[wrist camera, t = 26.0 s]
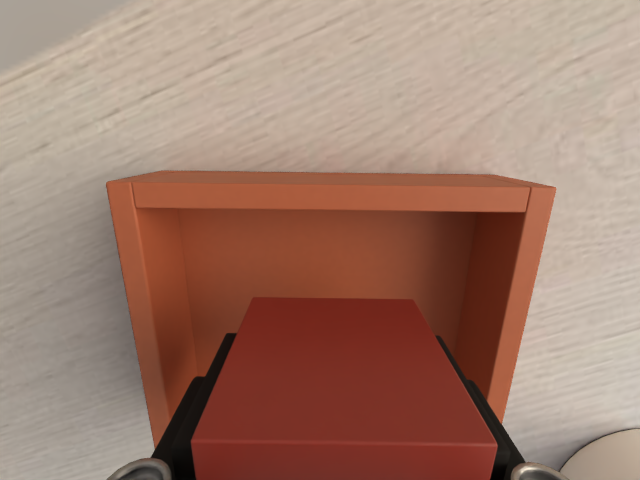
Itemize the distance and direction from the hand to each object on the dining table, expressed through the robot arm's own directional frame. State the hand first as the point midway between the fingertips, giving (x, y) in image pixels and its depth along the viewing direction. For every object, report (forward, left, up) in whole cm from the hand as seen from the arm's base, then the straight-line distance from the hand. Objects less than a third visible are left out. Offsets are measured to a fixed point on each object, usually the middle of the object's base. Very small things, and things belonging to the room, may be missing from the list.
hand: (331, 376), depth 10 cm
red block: (0, 0, -1) cm, 1 cm away
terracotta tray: (0, 0, -5) cm, 5 cm away
